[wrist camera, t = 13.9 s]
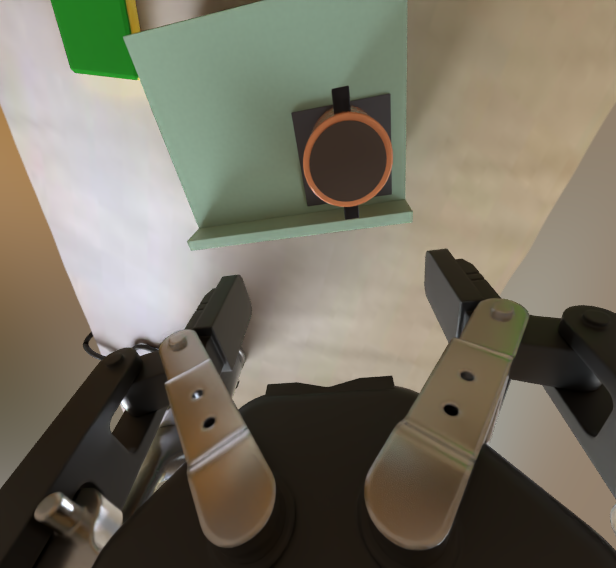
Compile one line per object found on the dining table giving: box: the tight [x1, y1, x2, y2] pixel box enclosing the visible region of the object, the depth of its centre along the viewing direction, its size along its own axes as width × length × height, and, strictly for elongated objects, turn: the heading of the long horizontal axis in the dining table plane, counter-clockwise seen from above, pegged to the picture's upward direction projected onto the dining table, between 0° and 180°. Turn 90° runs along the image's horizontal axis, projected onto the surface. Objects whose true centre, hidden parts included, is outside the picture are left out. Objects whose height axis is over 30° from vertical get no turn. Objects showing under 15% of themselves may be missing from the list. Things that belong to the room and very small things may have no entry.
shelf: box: [123, 0, 413, 251], centre depth 28 cm, size 20×16×15 cm
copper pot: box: [303, 85, 393, 220], centre depth 21 cm, size 5×8×8 cm
